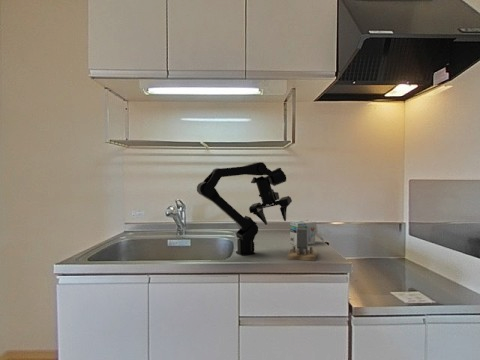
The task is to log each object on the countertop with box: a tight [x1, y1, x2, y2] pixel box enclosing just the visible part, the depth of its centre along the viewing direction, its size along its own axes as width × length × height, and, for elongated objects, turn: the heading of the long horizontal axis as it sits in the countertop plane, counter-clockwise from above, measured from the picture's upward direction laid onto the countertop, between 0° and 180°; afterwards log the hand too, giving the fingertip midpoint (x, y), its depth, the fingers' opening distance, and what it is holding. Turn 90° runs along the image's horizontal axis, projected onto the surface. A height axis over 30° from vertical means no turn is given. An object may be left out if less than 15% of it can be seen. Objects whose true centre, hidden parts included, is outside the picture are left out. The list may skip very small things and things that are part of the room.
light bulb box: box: [289, 219, 316, 246], centre depth 179 cm, size 11×7×11 cm, turn 115°
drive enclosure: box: [296, 228, 309, 254], centre depth 152 cm, size 4×5×10 cm
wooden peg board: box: [286, 245, 318, 261], centre depth 152 cm, size 11×12×4 cm
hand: (275, 222), depth 164 cm, fingers open, 9 cm apart
